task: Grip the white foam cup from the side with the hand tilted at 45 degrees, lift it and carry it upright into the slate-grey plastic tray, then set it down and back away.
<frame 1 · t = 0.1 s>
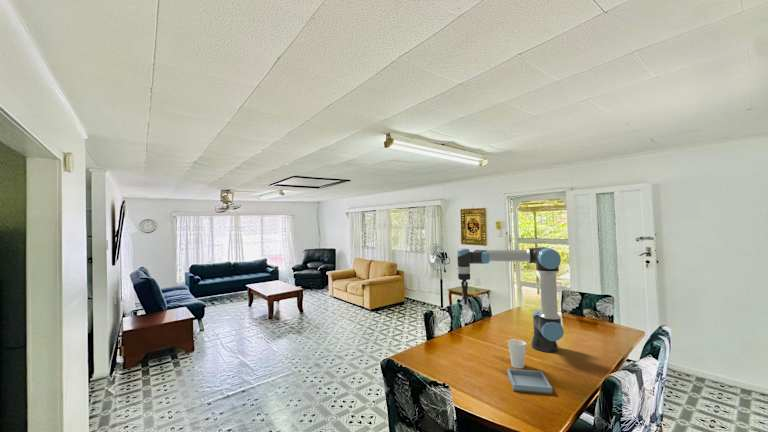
hand: (465, 306, 197), 28 cm above the table, tool pointing down, fingers open, 13 cm apart
foam cup: (517, 366, 174), on the table
tray: (528, 383, 155), on the table
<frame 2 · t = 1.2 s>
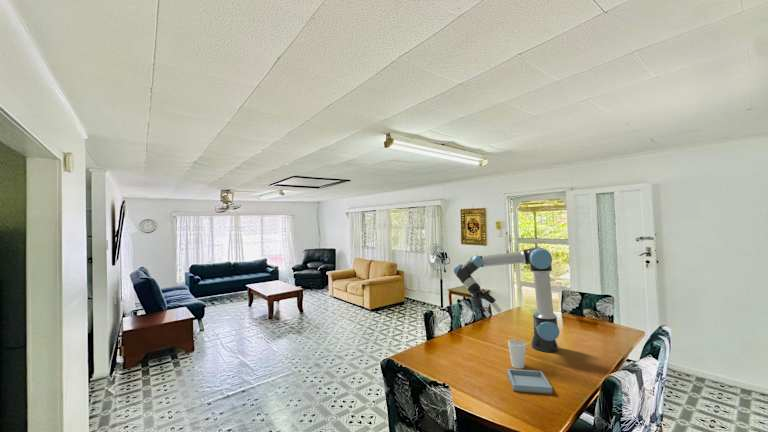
hand: (494, 314, 188), 26 cm above the table, tool tilted 45°, fingers open, 13 cm apart
nothing on the table moved.
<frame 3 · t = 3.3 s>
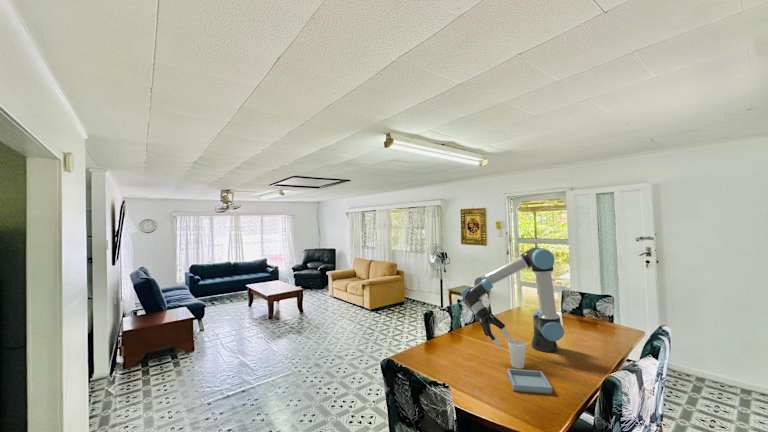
hand: (504, 341, 179), 12 cm above the table, tool tilted 45°, fingers open, 13 cm apart
nothing on the table moved.
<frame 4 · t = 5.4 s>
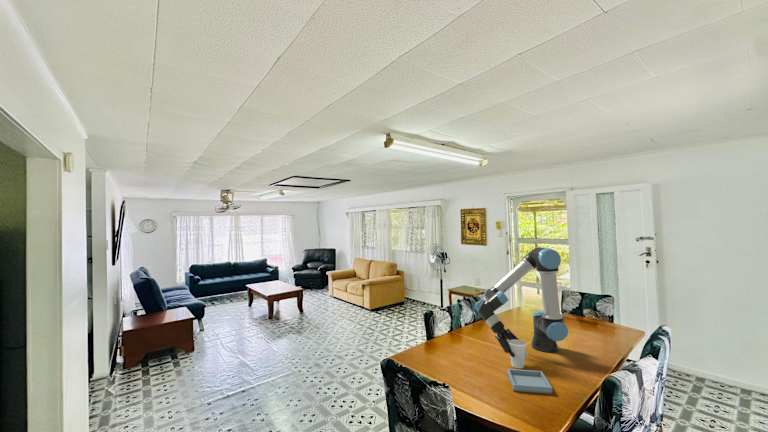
hand: (523, 359, 172), 5 cm above the table, tool tilted 45°, fingers closed on foam cup, 9 cm apart
foam cup: (517, 366, 174), on the table, touching gripper
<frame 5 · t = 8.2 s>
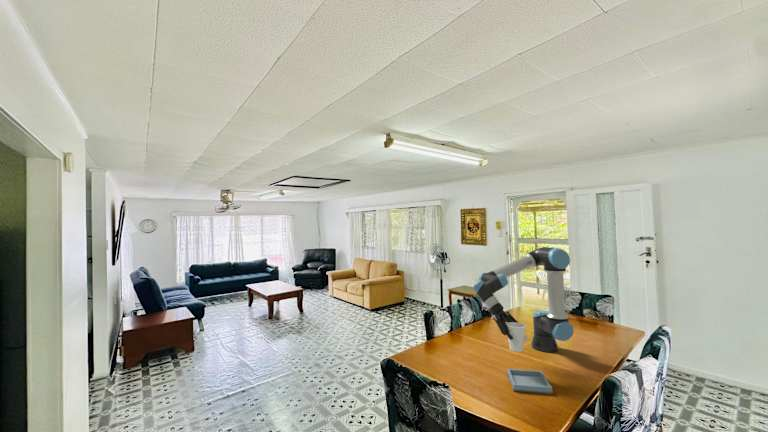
hand: (521, 342, 164), 17 cm above the table, tool tilted 45°, fingers closed on foam cup, 9 cm apart
foam cup: (516, 349, 166), point 12 cm above the table, touching gripper
when the fingers open (7 cm above the table, at t = 11.2 s): foam cup drops 1 cm, resting on tray.
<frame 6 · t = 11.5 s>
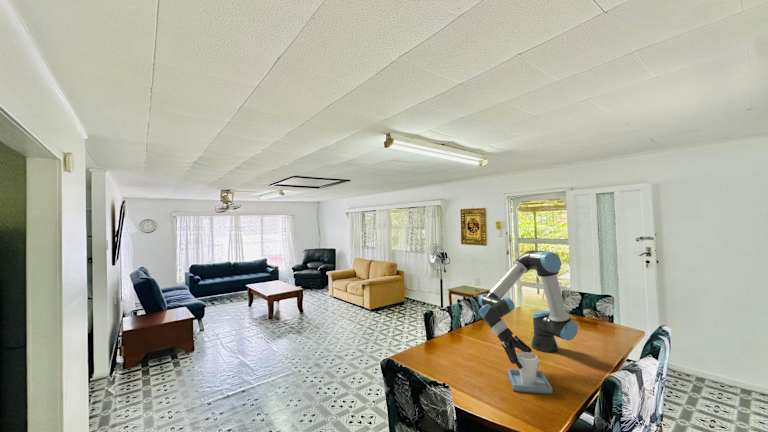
hand: (532, 369, 153), 8 cm above the table, tool tilted 45°, fingers open, 12 cm apart
foam cup: (528, 382, 155), point 1 cm above the table, touching tray
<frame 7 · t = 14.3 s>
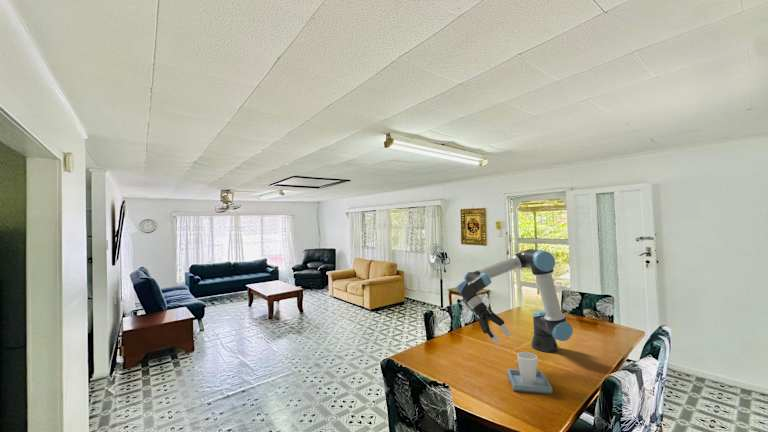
hand: (504, 339, 165), 19 cm above the table, tool tilted 45°, fingers open, 13 cm apart
nothing on the table moved.
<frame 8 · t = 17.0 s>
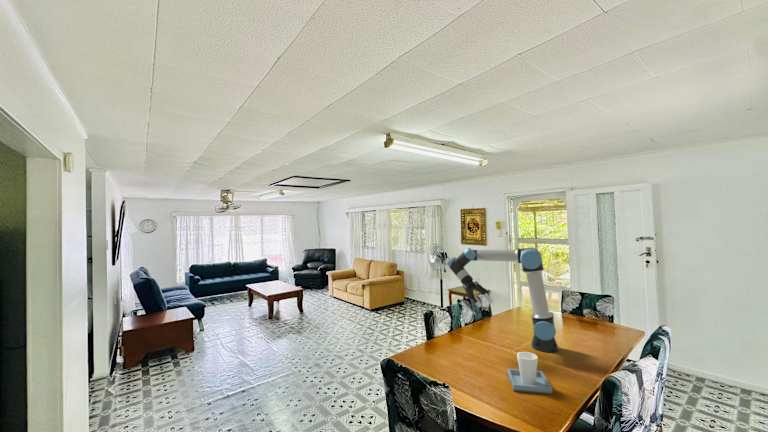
hand: (486, 304, 195), 30 cm above the table, tool tilted 45°, fingers open, 13 cm apart
nothing on the table moved.
at the end: foam cup inside the target area on the tray (0.1 cm from its centre), point 0.6 cm above the tray's base; foam cup tilted 0°; the gripper is holding nothing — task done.
